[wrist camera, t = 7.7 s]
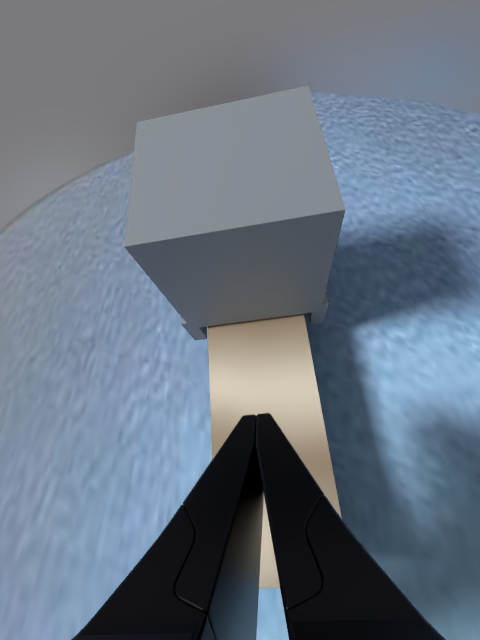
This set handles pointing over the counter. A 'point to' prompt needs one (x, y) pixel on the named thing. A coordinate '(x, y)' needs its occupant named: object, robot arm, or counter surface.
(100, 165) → the counter surface
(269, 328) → the beam
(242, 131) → the block
